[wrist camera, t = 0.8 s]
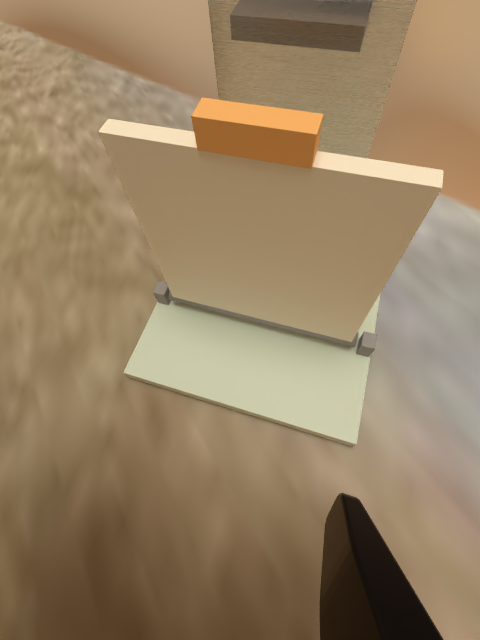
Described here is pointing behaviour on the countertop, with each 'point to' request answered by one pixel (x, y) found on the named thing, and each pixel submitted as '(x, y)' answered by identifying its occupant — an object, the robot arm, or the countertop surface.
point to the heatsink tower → (312, 60)
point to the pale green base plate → (256, 367)
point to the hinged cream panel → (269, 215)
